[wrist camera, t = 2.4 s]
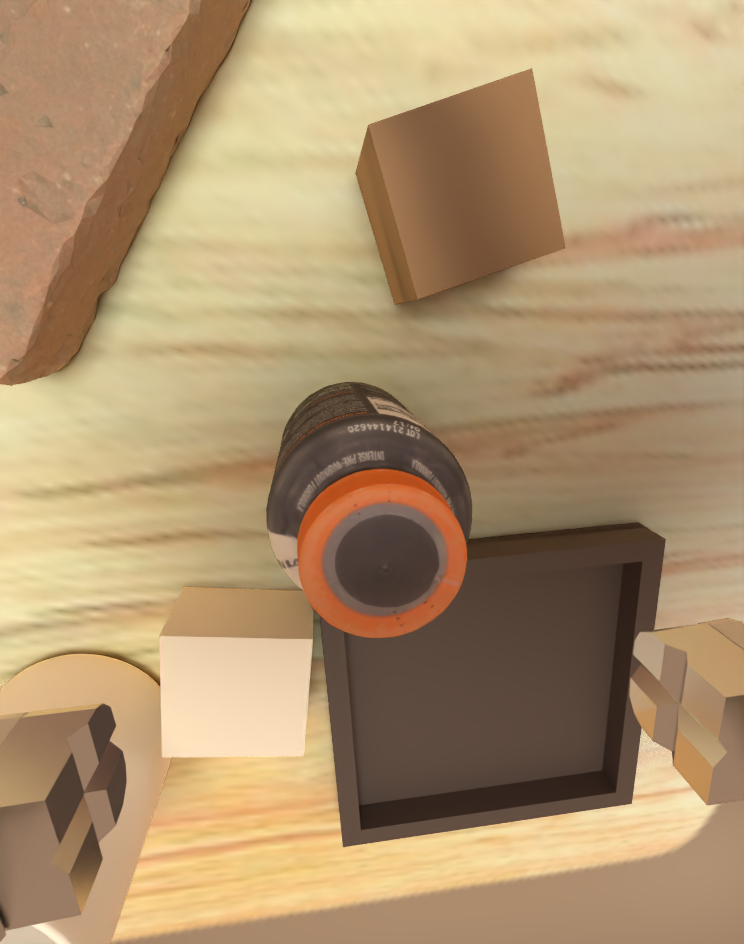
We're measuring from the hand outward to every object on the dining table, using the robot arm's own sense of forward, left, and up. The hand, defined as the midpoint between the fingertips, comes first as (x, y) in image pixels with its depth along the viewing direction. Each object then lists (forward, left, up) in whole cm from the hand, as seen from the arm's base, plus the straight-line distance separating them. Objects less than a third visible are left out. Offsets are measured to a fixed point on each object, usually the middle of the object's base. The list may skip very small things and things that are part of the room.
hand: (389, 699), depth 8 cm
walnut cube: (-4, -9, -15) cm, 18 cm away
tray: (-6, +13, -15) cm, 21 cm away
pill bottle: (0, 0, -15) cm, 15 cm away
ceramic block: (+5, +9, -15) cm, 19 cm away
